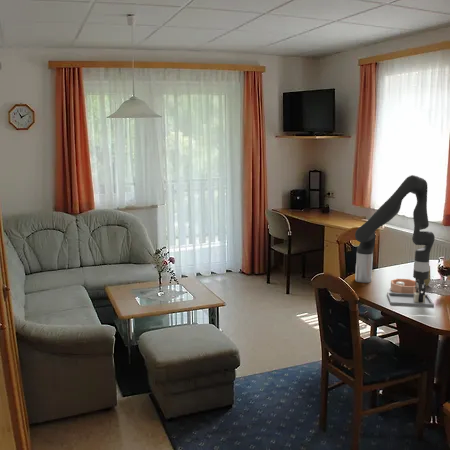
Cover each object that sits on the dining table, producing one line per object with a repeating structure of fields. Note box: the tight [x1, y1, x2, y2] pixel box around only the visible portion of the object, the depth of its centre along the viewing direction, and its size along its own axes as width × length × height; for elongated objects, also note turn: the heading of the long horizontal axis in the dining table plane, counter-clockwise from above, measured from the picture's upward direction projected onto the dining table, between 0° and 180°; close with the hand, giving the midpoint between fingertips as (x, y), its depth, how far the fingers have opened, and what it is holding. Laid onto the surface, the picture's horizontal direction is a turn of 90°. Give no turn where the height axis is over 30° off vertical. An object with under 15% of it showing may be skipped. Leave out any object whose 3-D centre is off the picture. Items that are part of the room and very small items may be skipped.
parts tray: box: [386, 291, 435, 308], centre depth 267 cm, size 21×16×2 cm
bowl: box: [390, 278, 417, 294], centre depth 284 cm, size 15×15×5 cm
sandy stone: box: [413, 293, 425, 303], centre depth 266 cm, size 5×4×4 cm
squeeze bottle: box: [424, 265, 431, 287], centre depth 293 cm, size 8×8×18 cm
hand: (419, 299), depth 266 cm, fingers open, 6 cm apart
